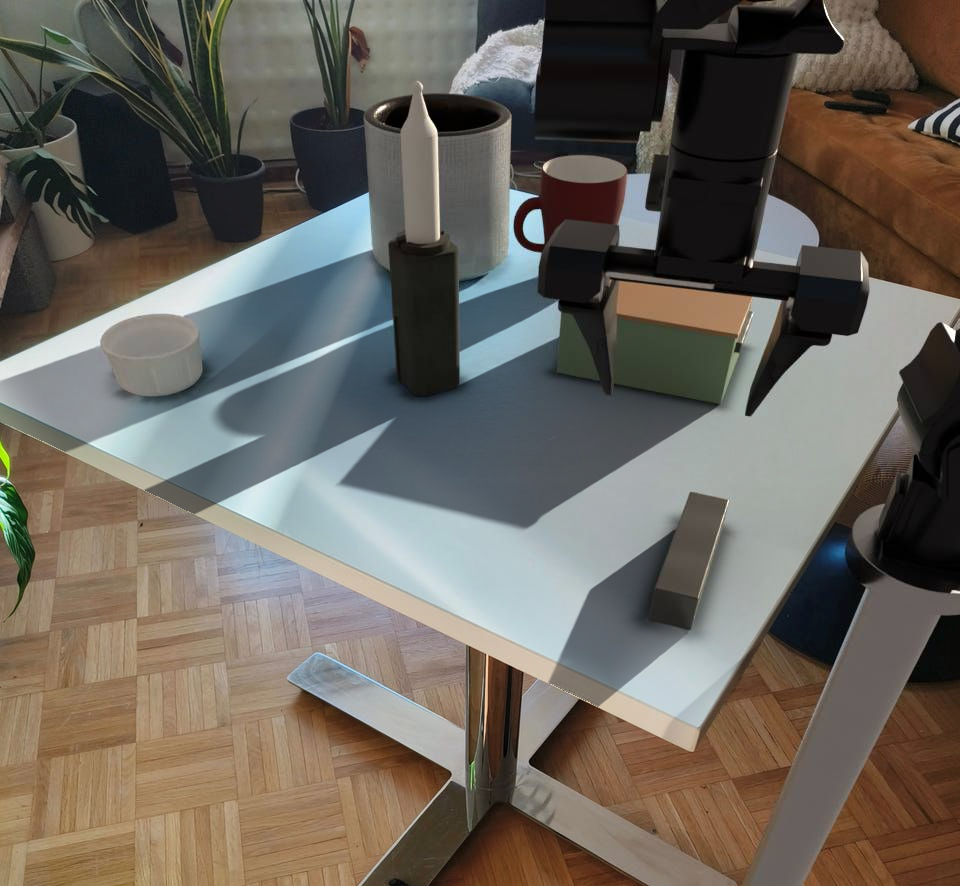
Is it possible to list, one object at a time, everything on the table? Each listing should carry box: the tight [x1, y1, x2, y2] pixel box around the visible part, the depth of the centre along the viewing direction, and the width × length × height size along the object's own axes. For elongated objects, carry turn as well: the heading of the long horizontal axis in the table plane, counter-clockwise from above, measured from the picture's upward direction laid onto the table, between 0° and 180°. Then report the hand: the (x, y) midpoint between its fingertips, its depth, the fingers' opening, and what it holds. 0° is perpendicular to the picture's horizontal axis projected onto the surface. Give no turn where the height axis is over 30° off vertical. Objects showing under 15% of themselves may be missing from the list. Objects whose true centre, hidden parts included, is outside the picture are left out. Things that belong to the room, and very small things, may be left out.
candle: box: [388, 80, 461, 397], centre depth 77 cm, size 5×5×25 cm
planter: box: [363, 92, 512, 282], centre depth 101 cm, size 16×16×16 cm
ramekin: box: [99, 313, 204, 397], centre depth 84 cm, size 9×9×4 cm
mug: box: [513, 154, 628, 254], centre depth 99 cm, size 12×9×11 cm
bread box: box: [556, 281, 755, 405], centre depth 87 cm, size 17×12×7 cm
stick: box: [648, 491, 730, 631], centre depth 65 cm, size 12×3×3 cm, turn 159°
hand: (677, 403), depth 59 cm, fingers open, 9 cm apart
